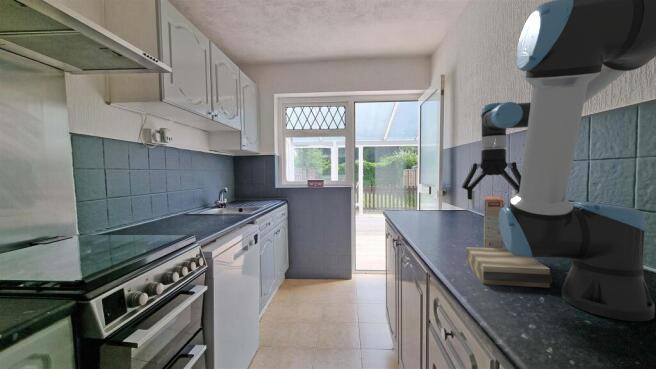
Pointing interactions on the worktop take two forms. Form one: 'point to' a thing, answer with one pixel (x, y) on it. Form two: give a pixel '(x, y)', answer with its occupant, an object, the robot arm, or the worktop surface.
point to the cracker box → (492, 222)
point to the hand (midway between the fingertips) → (493, 208)
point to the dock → (507, 268)
